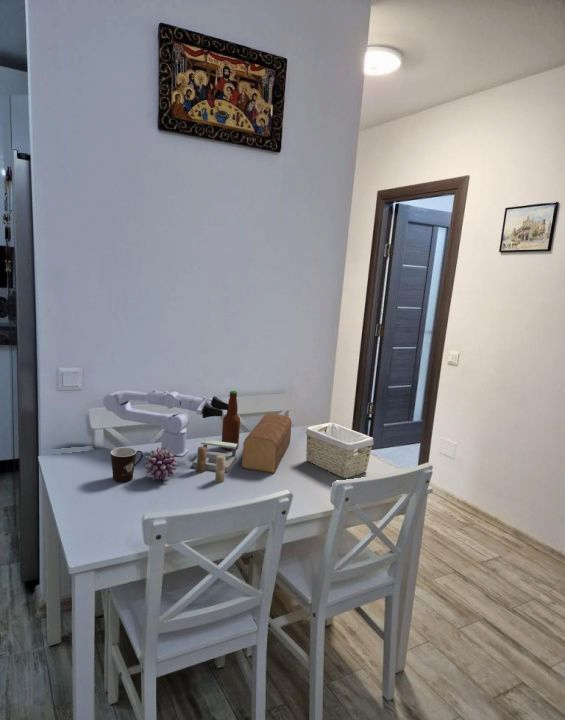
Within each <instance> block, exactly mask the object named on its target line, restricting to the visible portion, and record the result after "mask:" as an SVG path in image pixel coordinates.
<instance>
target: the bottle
mask: <svg viewBox="0 0 565 720" xmlns="http://www.w3.org/2000/svg"><path fill="white" fill-rule="evenodd" d="M228 396H229V399H228V403H227V404H229V409H228V410H226V413H225V415H224V417H223V419H222V430H221V442H228V443H235V444H238V446H237V447H236V450H238V448H239V444H240V442H239V441H240V431H241V430H240V428H241V418H240V416H239V414H238V409H239V408H238V406H239V405H238V399H237V397H238V392H237V391H236V390H230V391H229V395H228ZM221 448H222V449H223V450H225V451H232V448H226V447H221Z"/></svg>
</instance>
